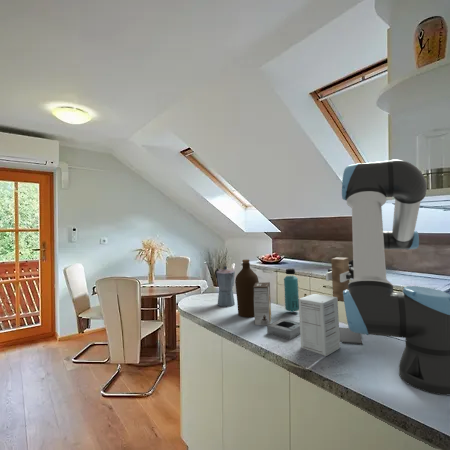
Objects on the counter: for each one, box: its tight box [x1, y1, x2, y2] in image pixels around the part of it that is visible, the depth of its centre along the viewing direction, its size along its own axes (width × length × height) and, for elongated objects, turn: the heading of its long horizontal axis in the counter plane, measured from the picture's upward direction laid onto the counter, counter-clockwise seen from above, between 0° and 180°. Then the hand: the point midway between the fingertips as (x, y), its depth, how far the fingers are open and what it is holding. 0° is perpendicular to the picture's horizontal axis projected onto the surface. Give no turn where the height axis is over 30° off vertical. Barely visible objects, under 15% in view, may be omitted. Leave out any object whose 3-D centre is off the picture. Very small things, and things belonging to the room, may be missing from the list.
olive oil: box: [234, 259, 260, 318], centre depth 145 cm, size 11×11×25 cm
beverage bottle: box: [283, 268, 300, 312], centre depth 145 cm, size 6×7×20 cm
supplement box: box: [298, 293, 341, 357], centre depth 104 cm, size 10×9×17 cm
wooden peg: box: [330, 257, 350, 303], centre depth 114 cm, size 4×4×15 cm
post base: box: [266, 318, 300, 341], centre depth 119 cm, size 10×10×4 cm
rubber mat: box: [339, 326, 363, 345], centre depth 114 cm, size 14×12×1 cm
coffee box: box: [253, 281, 272, 326], centre depth 133 cm, size 9×6×16 cm
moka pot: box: [214, 265, 236, 307], centre depth 164 cm, size 10×15×20 cm, turn 43°
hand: (333, 277), depth 111 cm, fingers closed on wooden peg, 4 cm apart
